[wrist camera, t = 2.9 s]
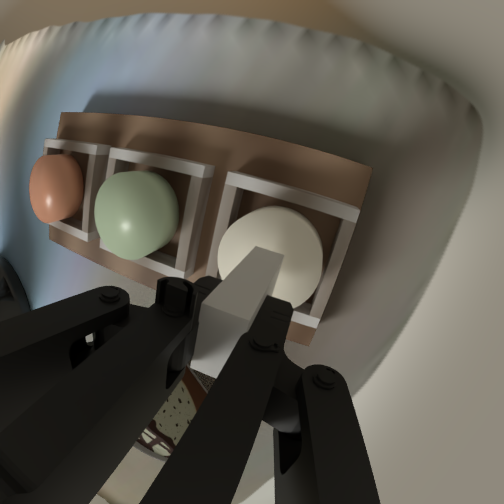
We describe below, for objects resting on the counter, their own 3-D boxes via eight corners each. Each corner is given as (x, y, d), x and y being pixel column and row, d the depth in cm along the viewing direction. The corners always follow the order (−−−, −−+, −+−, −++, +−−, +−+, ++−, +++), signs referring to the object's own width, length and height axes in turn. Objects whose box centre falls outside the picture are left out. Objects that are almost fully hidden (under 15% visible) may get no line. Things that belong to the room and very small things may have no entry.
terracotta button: (46, 210, 23) (28, 214, 21) (50, 151, 21) (32, 152, 19) (80, 225, 22) (61, 231, 20) (87, 157, 20) (66, 159, 18)
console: (67, 232, 29) (37, 243, 24) (81, 114, 24) (48, 111, 20) (311, 327, 24) (306, 359, 20) (366, 168, 19) (378, 167, 15)
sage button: (111, 237, 21) (92, 245, 19) (120, 164, 19) (99, 165, 17) (172, 261, 20) (154, 272, 18) (186, 179, 18) (168, 181, 16)
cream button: (222, 279, 20) (209, 293, 17) (242, 194, 18) (229, 198, 15) (305, 307, 19) (302, 325, 16) (335, 222, 17) (336, 230, 15)
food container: (125, 332, 30) (70, 379, 21) (159, 319, 28) (100, 374, 19) (180, 409, 32) (144, 463, 23) (218, 404, 30) (184, 468, 21)
